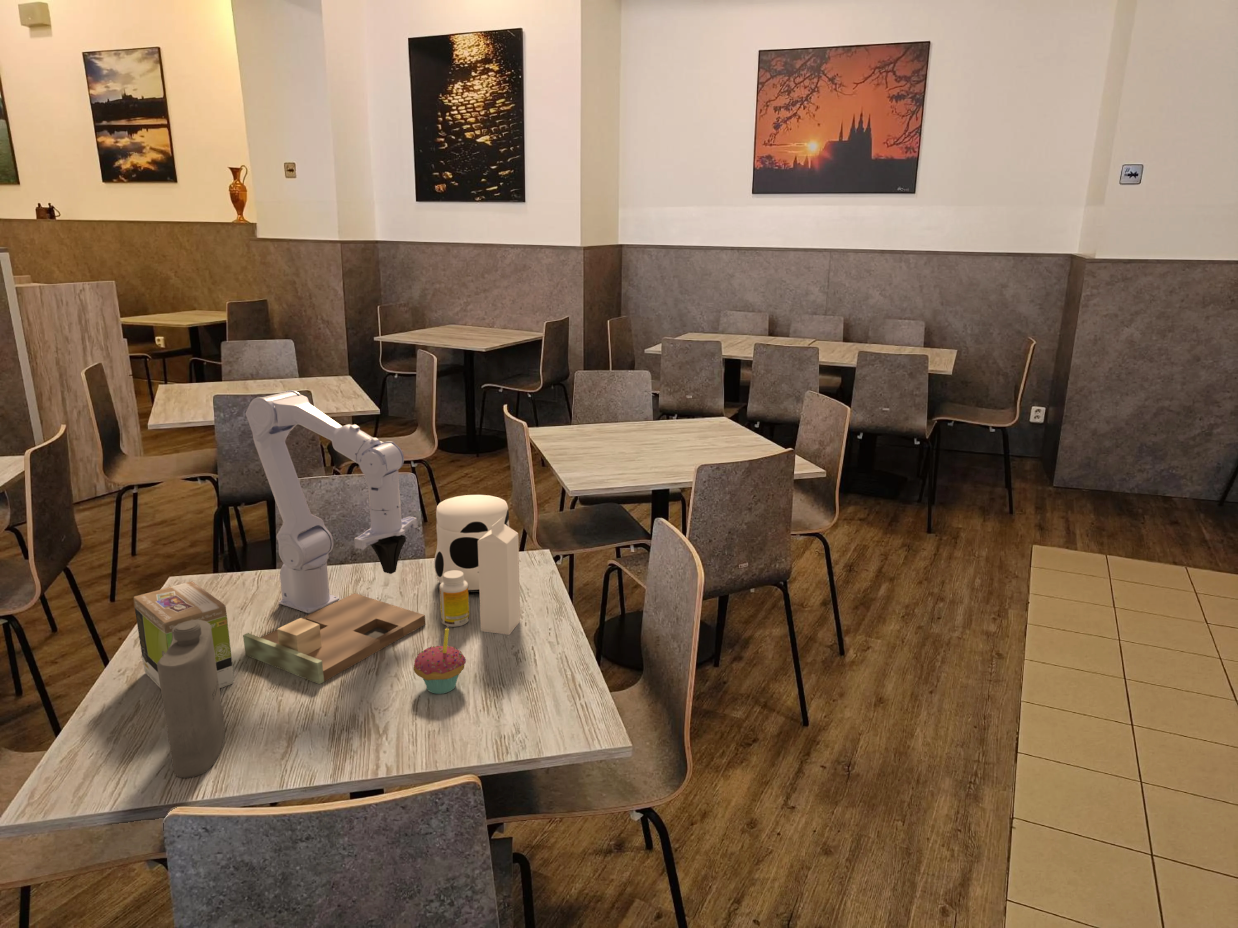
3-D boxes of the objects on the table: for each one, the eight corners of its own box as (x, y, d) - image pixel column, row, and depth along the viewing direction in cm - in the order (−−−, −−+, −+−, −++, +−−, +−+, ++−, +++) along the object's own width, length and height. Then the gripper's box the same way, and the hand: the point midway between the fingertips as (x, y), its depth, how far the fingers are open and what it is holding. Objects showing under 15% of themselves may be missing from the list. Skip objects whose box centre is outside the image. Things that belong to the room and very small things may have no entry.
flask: (216, 773, 115) (198, 647, 110) (170, 781, 113) (150, 653, 108) (230, 716, 129) (215, 601, 123) (189, 722, 127) (172, 606, 122)
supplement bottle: (474, 622, 161) (473, 575, 158) (449, 630, 158) (447, 582, 155) (461, 612, 165) (459, 566, 162) (436, 620, 162) (433, 572, 159)
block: (279, 651, 145) (277, 628, 144) (302, 639, 149) (300, 617, 148) (298, 658, 142) (296, 635, 141) (321, 646, 147) (319, 624, 145)
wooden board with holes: (245, 654, 148) (243, 634, 146) (355, 601, 169) (353, 584, 168) (319, 684, 138) (317, 663, 137) (425, 624, 160) (424, 605, 159)
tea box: (237, 683, 138) (227, 603, 134) (174, 706, 131) (161, 623, 127) (203, 652, 148) (192, 578, 144) (142, 673, 141) (129, 595, 137)
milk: (480, 631, 157) (475, 525, 151) (492, 617, 163) (488, 514, 157) (510, 635, 156) (506, 527, 150) (521, 621, 162) (517, 517, 156)
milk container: (450, 564, 189) (447, 491, 184) (522, 569, 187) (521, 495, 182) (423, 595, 173) (418, 516, 168) (502, 601, 170) (499, 520, 166)
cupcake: (475, 679, 140) (472, 616, 137) (449, 704, 133) (446, 638, 129) (432, 670, 143) (428, 608, 140) (404, 694, 135) (400, 629, 132)
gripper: (371, 520, 147) (376, 589, 151) (427, 499, 159) (430, 563, 163) (344, 513, 150) (349, 581, 154) (400, 493, 163) (404, 556, 166)
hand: (389, 571), depth 159 cm, fingers closed
